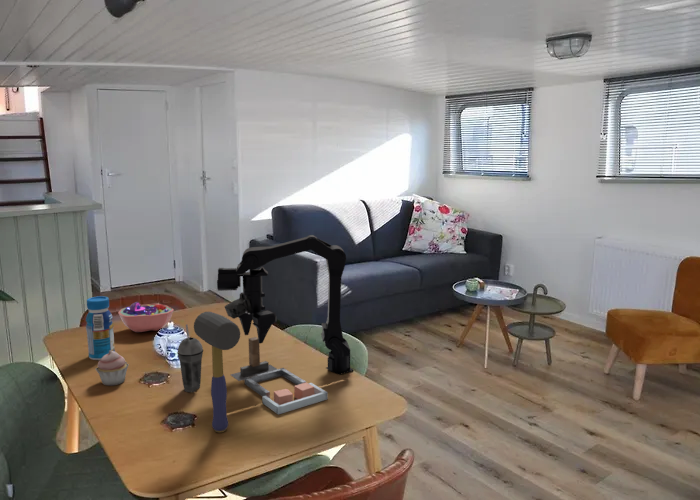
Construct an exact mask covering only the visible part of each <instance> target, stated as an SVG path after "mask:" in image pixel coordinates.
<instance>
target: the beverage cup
mask: <svg viewBox="0 0 700 500" xmlns="http://www.w3.org/2000/svg"><path fill="white" fill-rule="evenodd" d="M185 330H186V338H183V339H182V340H181V342H180V343H179V344H178V348H177V357H178V360H179V366H180V372H181V379H182V380H181V381H182V385H183V390H184V392H186V393H196V392H197V390H199V388H201V381H202V359H203V356H204V355H203V354H204V353H203V352H204V349H203V345H202V342H201V341H200V340H199V339H197V338H195V337H190V334H189V326H188V324H185Z"/></svg>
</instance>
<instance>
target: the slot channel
mask: <svg viewBox="0 0 700 500" xmlns="http://www.w3.org/2000/svg"><path fill="white" fill-rule="evenodd" d="M280 377H284V378H285V379H286V380H288V381H290V382H291V383H293V384H294V385H295V386H296V385H299V384H302V383H305V382H306V383H307V381H306V380H305V379H302V378H301V377H299V376H298V375H296V374H294V373H293V372H291V371H289V370H287V368H284V367H281V368H277V370H273V371H269V372H265V373H261V374H257V375H254V376H250V377H246V378H244V379H245V380H244V385H245V386H246V387H248V388H249V389H251V390H252V391H254V392H255V393H257V394H258V395H259V396H261V397H262V396H267V397H268V398H270V399H271V391H269V390H268V389H266V388H265V387H264V386H262V385H261V384H259V383H260V382H264V381H268V380H273V379H275V378H280Z"/></svg>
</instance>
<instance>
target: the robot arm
mask: <svg viewBox="0 0 700 500" xmlns="http://www.w3.org/2000/svg"><path fill="white" fill-rule="evenodd" d="M308 251H313V252H314V253H315V254H316V255H319V257H322V258H323V259H325V262H326V268H327V272H328V273H327V274H328V290H327V291H328V292H327V295H328V296H327V318H326V322H322V323H321V327H322V329H321V330H322V332H321V333H320V335H321V339H322V342H323V343H324V346H325V347H326V348H327V349H328V350H330V351H329V352H328V357H327V367H325V369H326V370H327V371H329V372H330V373H333V374H336V375H339V376H340V375H344V374H346V373H347V374H348V373H351V372H353V371H354V368H352V367H351V348H350V346H349V344H348V340H347V339H346V338H344V337H343V329H342V324H341V302H342V301H341V299H342V277H343V273H344V270H345V266H346V262H347V255H346V252H345V251H344V249H343V248H342V247H341V246H340V245H336V244H333V245H331V244H330V243H328V242H326V241H325V240H322V239H320V238H319V237H317V236H316V235H313V234H309V235H307V236H305V237H301V238H298V239H297V238H296V239H294V240H290V241H287V242H286V241H285V242H282V243H277V244H275V245H270V246H269V245H268V246H253V247H249V248H246V249H245V250H244V251H243V253H242V256H241V260H240V262H239V264H237V266H236V267H229V268H227V267H218V269H217V281H216V285H217V286H216V287H217V288H216V289H217V292H219V291H223V292H224V291H227V292H228V291H237V290H238V289H239V288H240V287H242V292H240V293H239V298H237V299H234V300H233V301H231V302H229V303H227V304H226V305H224V308H225V309H224V310H225V311H226V314H227V316H228V317H230V318H231V319H233V320H234V319H237V318H238V319H239V322H240V324H241V327H242V331H243V333H244V336H248V335H250V331H251V327H252V325H253V326H254V327H255V329H256V334H257V338H258V341H259V344H263V343H264V341H265V339H266V337H267V334H268V333H269V331H270V329H271V327H272V325H274V324H275V323H277V315H276V314H275V313H274V312H272V311H270V310H266V306H265V305H263V297H266V293H265V292H263V277H267V276H268V275H269V271H267V270H266V269H265V267H264V266H265V265H266V264H268V263H271V262H272V261H274V260H277V259H281V258H282V259H283V258H285V257H289V256H292V255H296V254H300V253H304V252H308ZM241 284H242V285H241Z"/></svg>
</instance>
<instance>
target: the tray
mask: <svg viewBox="0 0 700 500" xmlns="http://www.w3.org/2000/svg"><path fill="white" fill-rule="evenodd" d="M307 383H308V382H307ZM308 384H310V385H312V386H314V395H311V396H308V397H305V398H302V399H295V400H293V401H292V402H288V403H285V404H282V405H278V404H277V403H275V402H274V399H273V400H272V399H271V397H270V398H268V397H267V396H261V397H262V398H261V399H262V404H263V405H265V407H267V408H268V409H270V410H271V411H273V412H274V413H275V414H277V415H281V414H285V413H288V412H290V411H291V412H292V411H294V410H298V409H300V408H303V407H307V406H310V405H313V404H317V403H319V402H320V403H321V402H323V401H326V400H328V397H329V395H328V391H326V390H324V389H323V388H321V387H319V386H318V385H316V384H314V383H313V382H309V383H308Z"/></svg>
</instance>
